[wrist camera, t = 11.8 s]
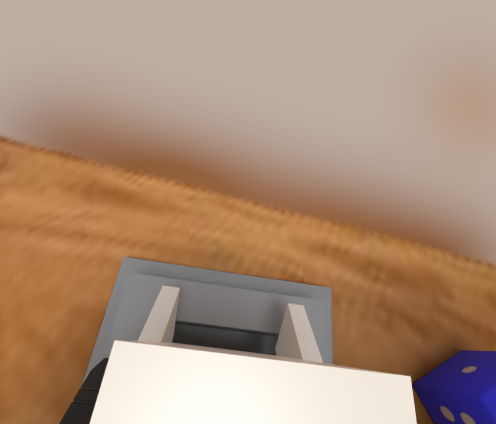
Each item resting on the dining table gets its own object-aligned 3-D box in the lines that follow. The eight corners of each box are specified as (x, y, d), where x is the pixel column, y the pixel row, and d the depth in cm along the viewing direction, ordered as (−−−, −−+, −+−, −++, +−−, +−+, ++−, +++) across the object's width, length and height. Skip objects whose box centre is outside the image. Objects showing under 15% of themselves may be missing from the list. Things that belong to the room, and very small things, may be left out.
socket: (325, 290, 20) (352, 278, 16) (329, 578, 14) (375, 662, 10) (127, 261, 19) (109, 241, 15) (31, 563, 12) (-39, 653, 9)
